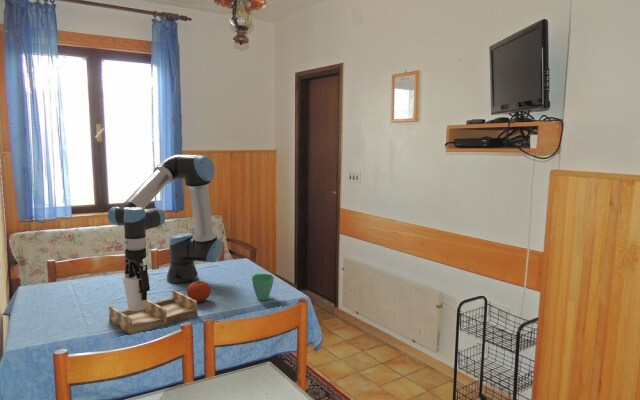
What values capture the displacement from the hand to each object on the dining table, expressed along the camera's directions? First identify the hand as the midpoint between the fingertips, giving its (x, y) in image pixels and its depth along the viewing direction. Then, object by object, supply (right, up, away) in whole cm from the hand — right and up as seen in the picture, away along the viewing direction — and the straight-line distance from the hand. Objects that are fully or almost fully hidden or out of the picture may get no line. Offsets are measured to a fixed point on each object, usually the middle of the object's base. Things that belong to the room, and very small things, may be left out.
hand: (137, 304), depth 177 cm
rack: (+4, -7, +6) cm, 10 cm away
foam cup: (0, -2, 0) cm, 2 cm away
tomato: (+17, -5, +25) cm, 31 cm away
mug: (+44, -4, +33) cm, 55 cm away
